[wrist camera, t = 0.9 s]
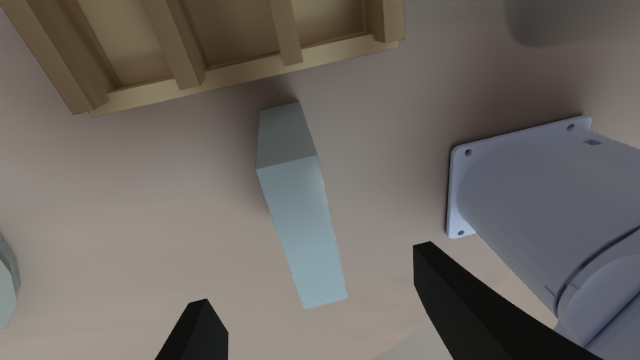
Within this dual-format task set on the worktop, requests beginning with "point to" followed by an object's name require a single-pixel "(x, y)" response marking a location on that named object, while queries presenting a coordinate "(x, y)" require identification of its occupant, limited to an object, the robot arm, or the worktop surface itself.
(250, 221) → the worktop surface
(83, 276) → the worktop surface
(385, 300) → the worktop surface
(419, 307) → the worktop surface
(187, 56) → the rack
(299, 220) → the upright pale blue slab
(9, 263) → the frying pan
